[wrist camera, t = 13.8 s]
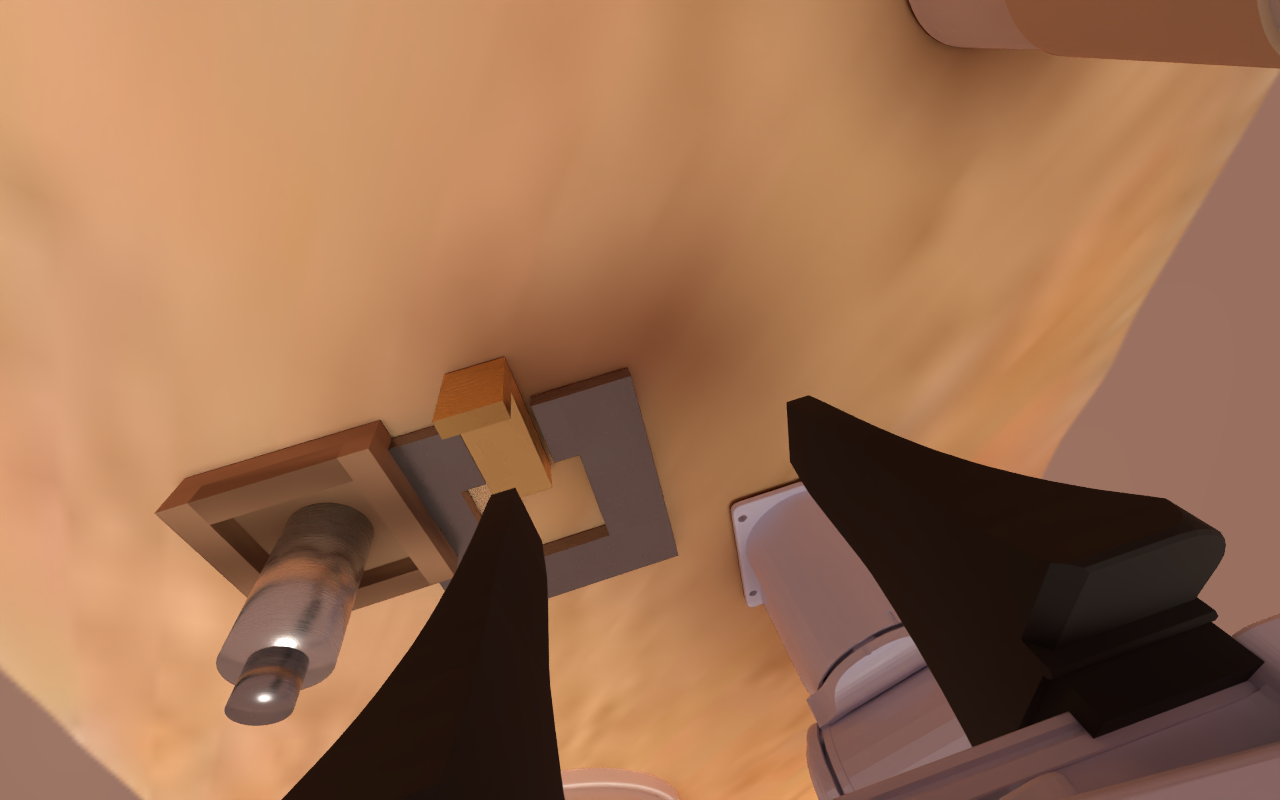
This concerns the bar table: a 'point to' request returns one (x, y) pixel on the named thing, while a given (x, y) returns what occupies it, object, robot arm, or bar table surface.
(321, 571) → the peg
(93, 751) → the bar table surface
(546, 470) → the golden l-shaped block
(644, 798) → the plate stack
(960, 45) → the coffee cup
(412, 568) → the square wooden tray
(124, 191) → the bar table surface
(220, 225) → the bar table surface
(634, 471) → the socket collar
